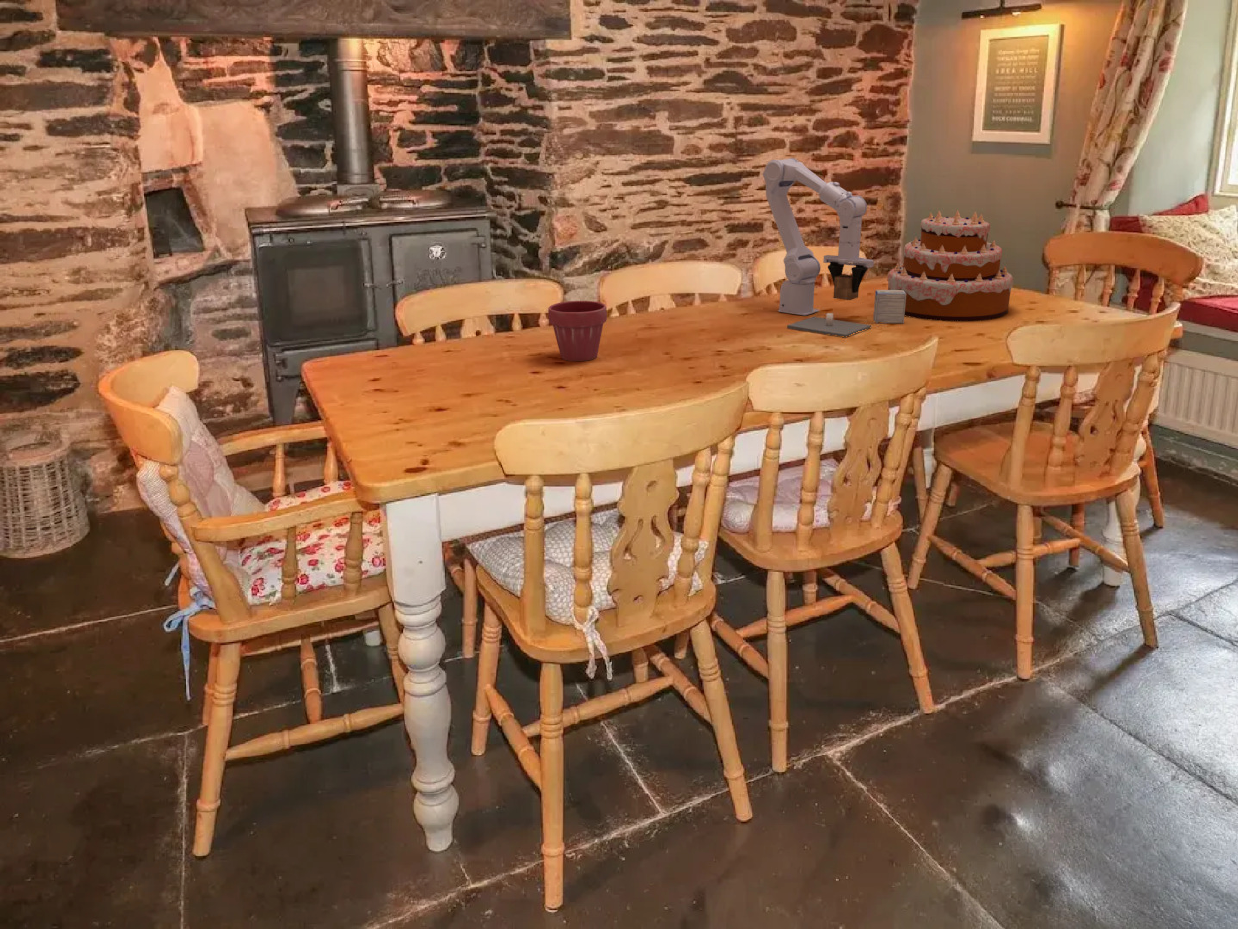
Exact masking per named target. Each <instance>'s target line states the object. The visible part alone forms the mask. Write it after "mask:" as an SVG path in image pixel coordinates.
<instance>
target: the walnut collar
mask: <svg viewBox="0 0 1238 929" xmlns="http://www.w3.org/2000/svg"><path fill="white" fill-rule="evenodd" d="M852 284H853V276H852V274H844V273H842V275H839V276H836V277H835V280H834V283H833V297H832V298H833V299H837V300H843V301H851V300H854V299H855V300H856V299H858V298H859V290H860V289H859V290H858V292H855V293H853V292H852Z"/></svg>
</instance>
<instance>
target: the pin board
mask: <svg viewBox="0 0 1238 929" xmlns="http://www.w3.org/2000/svg"><path fill="white" fill-rule="evenodd" d="M825 315H826V317H820V316H811V317H808V318H805V319H803V320H800V321H795V322H794V323H790V324H786V325H787V326H786V329H788V330H789V329H790V330H795V331H801V332H807V331H810V332H809V333H813V332H817V333H816V334H819V333H823V334H822V335H825V334H830V335H829V336H832V335H837V336H836V337H838V336H844V337H846V336H849V335H851V334H853V333H856V332H858V331H862V330H865V329H868V328H870V327H871V328H872V325H871V324H867V323H859V322H858V323H857V322H852V321H846V320H845V321H844V320H838V319H834V313H833V312H828V313H826V314H825ZM871 328H870V329H871ZM868 330H869V329H868ZM865 331H866V330H865ZM862 332H863V331H862ZM844 337H843V338H844ZM849 337H850V336H849ZM846 338H847V337H846Z"/></svg>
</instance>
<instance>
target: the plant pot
mask: <svg viewBox="0 0 1238 929" xmlns="http://www.w3.org/2000/svg"><path fill="white" fill-rule="evenodd" d="M547 311H548V312H547V314H548V323H549V324H550V325H552V328H553V331H554V335H555V340H556V343H557V347H558V351H559V355H560V358H561V359H562V360H564V361H570V362H586V361H590V360H594V359H596V358H598V353H599V349H600V344H601V343H600V342H601V337H602V332H603V326H604V323H607V316H608V315H607V313H608V312H607V305H606V304H604V303H603V302H598V301H595V300H594V301H592V300H569V301H562V302H558V303H555V304H551V305H550V306H549V307H548V310H547Z"/></svg>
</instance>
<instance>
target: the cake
mask: <svg viewBox="0 0 1238 929" xmlns="http://www.w3.org/2000/svg"><path fill="white" fill-rule="evenodd" d="M960 215H961V214H960V211H959V210H957V211H956V213H955V215H954V216H953V217H948V216H944V217H943V216H942V213H941V211H940V210H938V212H937V215H936V216H935V217H934V216H933V214H932V212H930V213H929V216H928V217H927V218H923V219H922V220H921V222H920V239H919V238H917V236H915V237H914V239H913V240H911V241H910V242H907V243H906V244H905V245H904V248H903V263H902V264H901V265H900V264H899V263H896V266H894V268H892V269H891V270H890V271H889V272H888V274H887V286H888V288H887V290H904V291H905V293H906V303H905V314H904V316H905V315H906V316H905V317H909V316H910V318H914V317H915V318H916V319H921V320H928V319H932V320H931V321H939V320H942V322H944V321H945V322H975V321H976V322H978V321H979V322H980V320H981V321H988V320H989V321H990V320H993V319H998V318H1001V317H1004V316H1006V315H1007V314H1008V311H1009V308H1010V298H1011V297H1010V296H1011V292H1012V287H1013V286H1014V277H1013V276H1012V274H1011V273H1009V272H1008V270H1007V266H1004V267H1003V269H1000V268H1001V261H1002V257H1003V249H1002V247H1001V246H998V245H996V241H995V240H993V241H992V243H991V242H988V241H989V236H990V229H991V228H990V227H991V226H990V223H989V222H987V221H985V220H984V216H983V214H982V213H981V214H980V215H979V217H978V214H977V211H975V212H974V213H973V215H972V217H970V218H969V217H968V216H966V217H965V218H964V217H961V216H960Z"/></svg>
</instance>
